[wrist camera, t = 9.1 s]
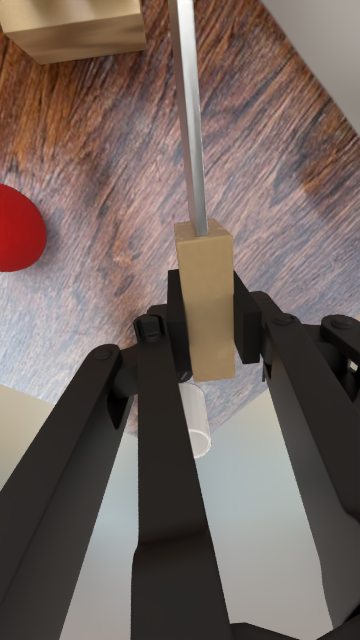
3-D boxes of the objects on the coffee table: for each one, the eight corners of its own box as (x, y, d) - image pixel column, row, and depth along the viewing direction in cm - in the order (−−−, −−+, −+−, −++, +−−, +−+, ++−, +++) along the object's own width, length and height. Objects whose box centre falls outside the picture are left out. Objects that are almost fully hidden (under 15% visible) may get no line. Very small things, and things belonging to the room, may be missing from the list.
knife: (220, 331, 18) (235, 378, 14) (188, 335, 18) (194, 383, 14) (195, -159, 8) (222, -522, 4) (125, -146, 8) (78, -487, 4)
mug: (137, 389, 46) (129, 437, 37) (200, 379, 45) (208, 426, 36) (147, 417, 50) (143, 467, 41) (206, 408, 49) (213, 457, 40)
